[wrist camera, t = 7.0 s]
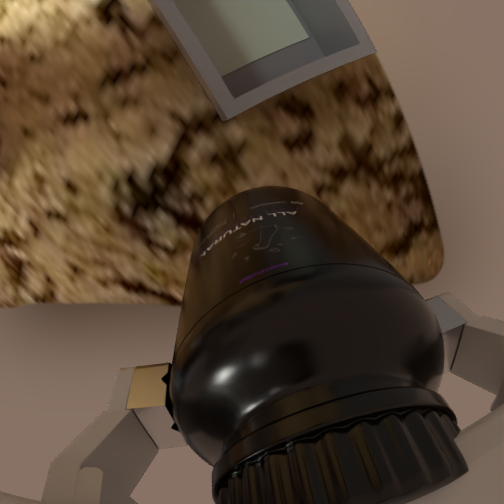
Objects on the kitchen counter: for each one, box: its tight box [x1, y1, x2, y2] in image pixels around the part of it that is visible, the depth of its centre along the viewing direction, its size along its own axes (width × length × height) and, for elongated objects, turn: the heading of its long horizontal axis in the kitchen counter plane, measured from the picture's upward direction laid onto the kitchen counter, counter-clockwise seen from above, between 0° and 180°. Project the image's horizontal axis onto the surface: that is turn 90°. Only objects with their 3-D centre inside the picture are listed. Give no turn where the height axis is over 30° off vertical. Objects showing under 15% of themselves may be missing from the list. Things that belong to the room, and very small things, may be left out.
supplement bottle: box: [169, 186, 469, 504], centre depth 9 cm, size 7×7×12 cm
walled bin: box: [147, 0, 377, 121], centre depth 19 cm, size 16×12×8 cm
